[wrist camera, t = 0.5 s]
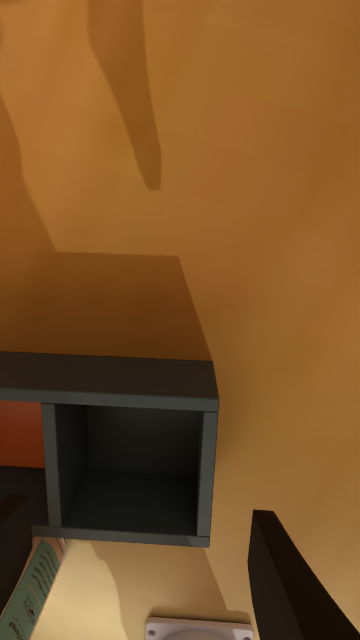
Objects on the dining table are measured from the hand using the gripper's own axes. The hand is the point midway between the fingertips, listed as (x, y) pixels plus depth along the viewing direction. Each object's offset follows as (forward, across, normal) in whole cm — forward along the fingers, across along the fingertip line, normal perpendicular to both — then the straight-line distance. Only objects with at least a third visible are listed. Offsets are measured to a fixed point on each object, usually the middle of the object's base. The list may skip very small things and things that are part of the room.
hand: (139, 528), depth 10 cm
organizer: (+10, +5, +2) cm, 12 cm away
